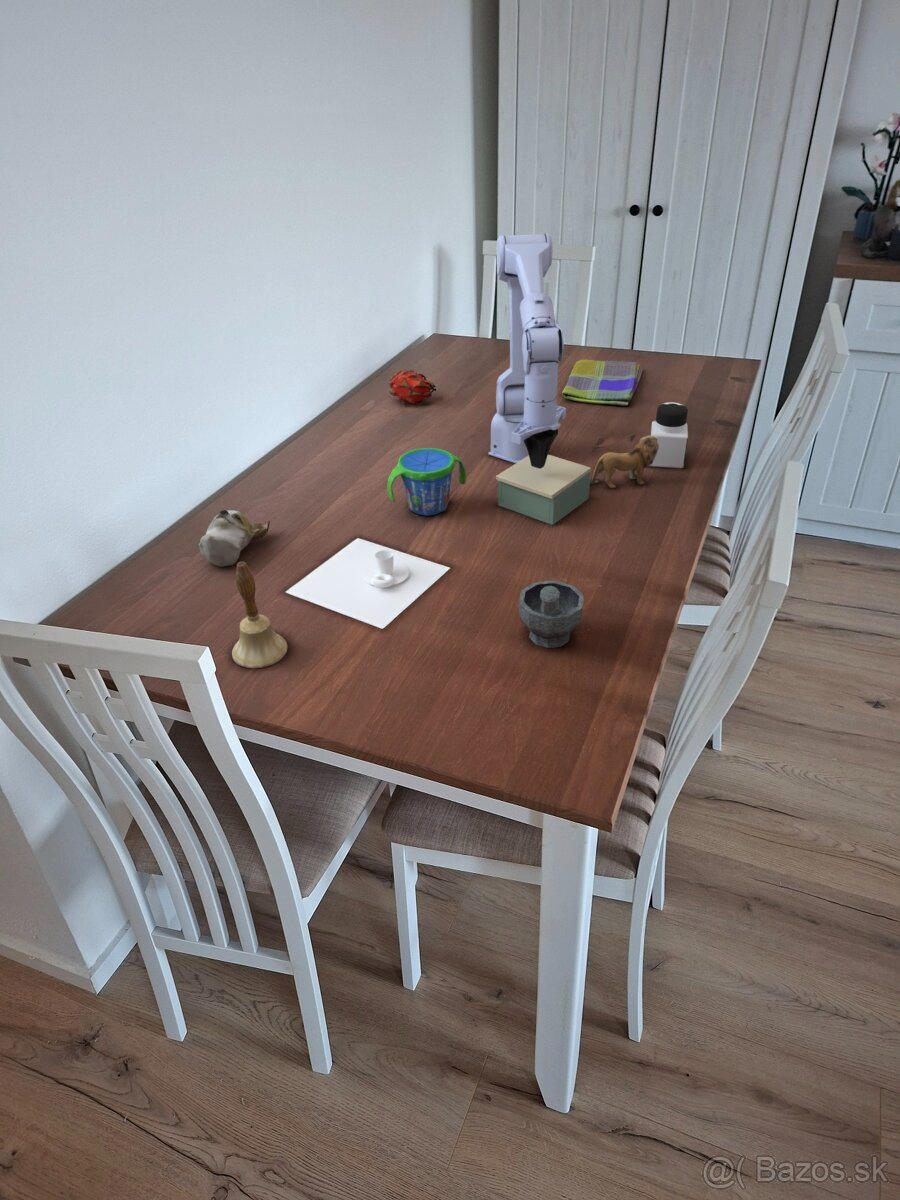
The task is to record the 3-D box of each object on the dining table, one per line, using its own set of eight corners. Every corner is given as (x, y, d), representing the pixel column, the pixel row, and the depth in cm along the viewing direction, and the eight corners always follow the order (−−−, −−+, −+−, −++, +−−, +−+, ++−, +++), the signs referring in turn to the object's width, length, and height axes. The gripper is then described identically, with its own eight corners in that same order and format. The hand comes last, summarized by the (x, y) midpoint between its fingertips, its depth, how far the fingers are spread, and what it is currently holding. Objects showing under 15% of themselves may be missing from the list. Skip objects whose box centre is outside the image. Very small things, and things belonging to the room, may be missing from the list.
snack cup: (396, 528, 157) (393, 479, 151) (381, 502, 165) (378, 454, 159) (475, 513, 161) (475, 464, 155) (457, 488, 169) (456, 441, 163)
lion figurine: (646, 470, 173) (651, 429, 168) (660, 481, 169) (666, 440, 164) (582, 483, 169) (585, 441, 164) (594, 495, 165) (598, 452, 160)
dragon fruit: (387, 404, 209) (433, 415, 207) (379, 395, 201) (427, 406, 199) (396, 370, 209) (442, 381, 207) (388, 360, 200) (436, 371, 199)
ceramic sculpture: (177, 526, 142) (213, 489, 154) (186, 571, 146) (220, 531, 159) (237, 531, 140) (269, 493, 152) (244, 576, 145) (275, 536, 157)
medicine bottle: (683, 469, 173) (691, 413, 166) (648, 466, 175) (654, 411, 168) (682, 453, 179) (690, 400, 172) (648, 451, 180) (654, 398, 173)
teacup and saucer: (389, 595, 139) (387, 575, 137) (350, 582, 143) (348, 561, 140) (418, 570, 145) (417, 550, 143) (380, 557, 149) (379, 538, 146)
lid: (551, 499, 153) (552, 495, 152) (495, 479, 159) (495, 476, 159) (590, 471, 161) (591, 467, 160) (535, 454, 167) (536, 450, 167)
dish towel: (557, 401, 204) (557, 390, 202) (575, 366, 223) (576, 355, 221) (630, 408, 199) (631, 396, 198) (642, 371, 218) (644, 361, 217)
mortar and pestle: (522, 613, 134) (524, 549, 127) (582, 618, 133) (587, 554, 126) (514, 658, 125) (515, 591, 118) (577, 664, 124) (583, 597, 117)
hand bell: (285, 666, 125) (269, 577, 116) (228, 670, 125) (208, 581, 115) (289, 632, 132) (274, 545, 122) (235, 636, 131) (216, 548, 122)
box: (552, 525, 156) (554, 497, 153) (497, 505, 163) (498, 478, 160) (588, 498, 164) (590, 471, 161) (534, 480, 171) (535, 454, 167)
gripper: (536, 415, 143) (533, 487, 150) (581, 388, 152) (577, 457, 160) (502, 405, 146) (501, 476, 154) (548, 380, 155) (545, 448, 163)
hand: (537, 466), depth 157 cm, fingers closed
